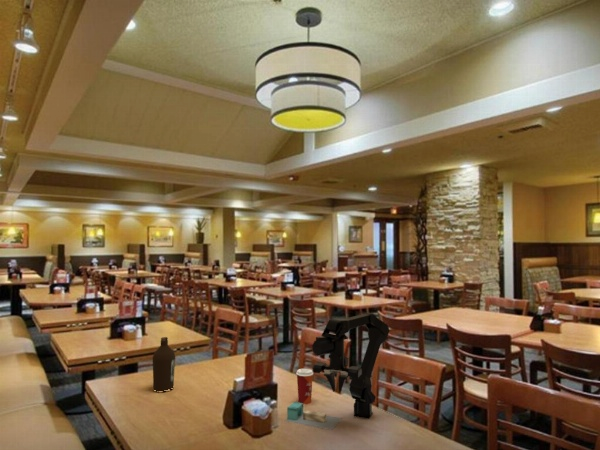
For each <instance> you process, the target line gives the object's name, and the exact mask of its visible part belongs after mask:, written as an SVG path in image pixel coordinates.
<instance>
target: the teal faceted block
mask: <svg viewBox="0 0 600 450" xmlns="http://www.w3.org/2000/svg"><path fill="white" fill-rule="evenodd" d="M286 411H287V412H286V415H287V417H286V419H292V420H297V419H298V415H303V412H304V404H303V403H299V401H293V402H292V403H291V404H289V406H287V409H286Z"/></svg>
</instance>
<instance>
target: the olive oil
mask: <svg viewBox="0 0 600 450" xmlns="http://www.w3.org/2000/svg"><path fill="white" fill-rule="evenodd" d="M175 366H176V354H175V351H174V350H173V349H172V348H171V347H170V346H169V340H168V336H163V337H161V338H160V346H159V347H158V348H157V349H156V351H155V352H154V353H153V355H152V382H153V383H152V388H153V389H154V390H156V391H164V390H168V389H171V388H173V389H174V387H173V386H174V383H175V370H176V368H175Z"/></svg>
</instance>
